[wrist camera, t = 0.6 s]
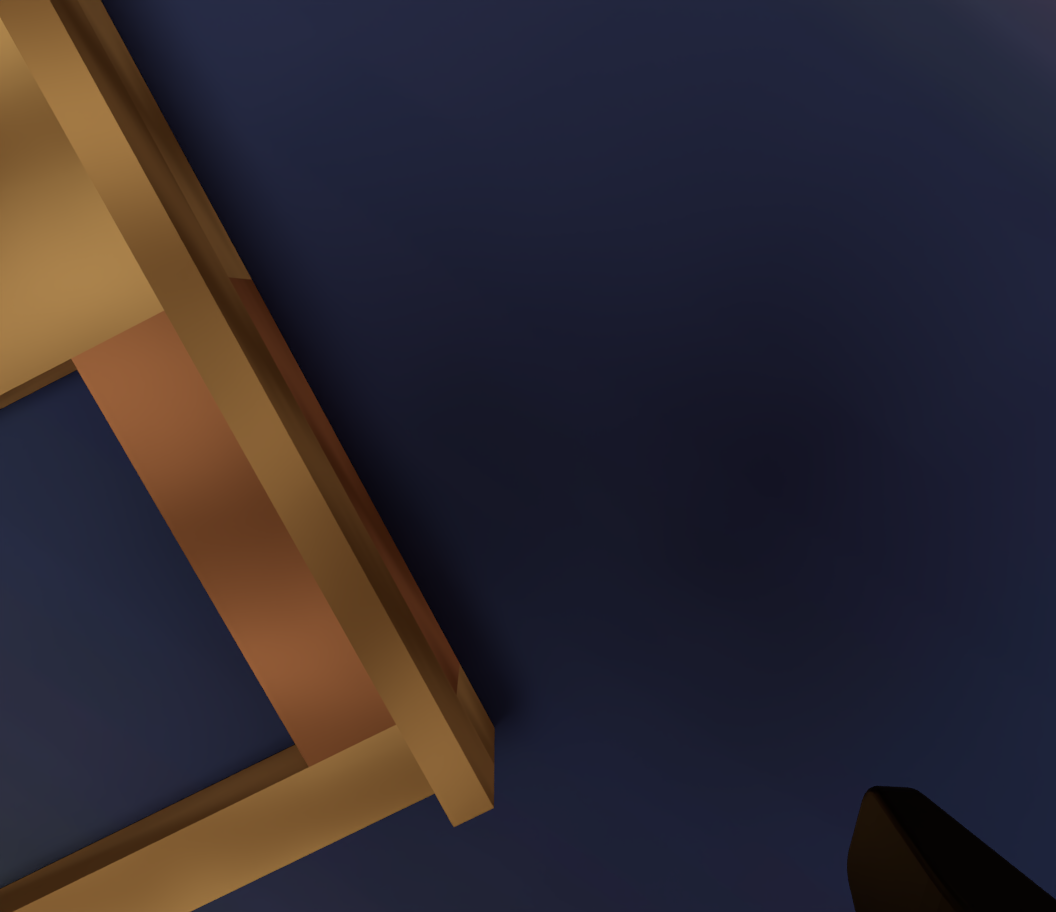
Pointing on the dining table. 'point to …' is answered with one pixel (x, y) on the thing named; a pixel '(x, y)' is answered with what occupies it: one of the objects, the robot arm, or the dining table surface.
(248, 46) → the dining table surface
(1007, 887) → the robot arm
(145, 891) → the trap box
